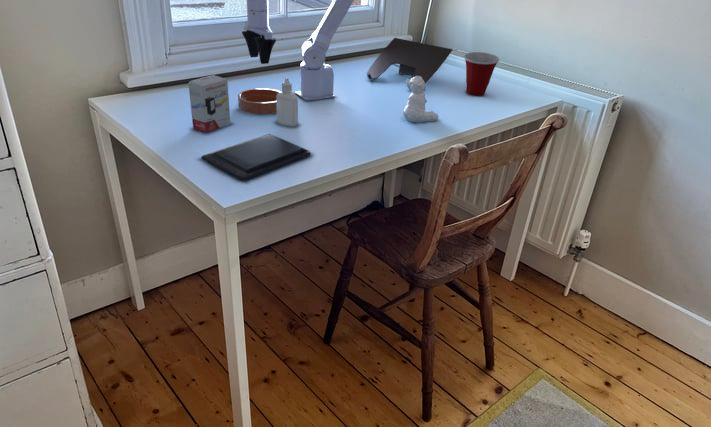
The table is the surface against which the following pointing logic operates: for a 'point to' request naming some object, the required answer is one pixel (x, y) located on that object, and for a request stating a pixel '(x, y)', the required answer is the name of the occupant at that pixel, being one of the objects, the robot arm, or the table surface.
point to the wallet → (256, 156)
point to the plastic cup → (479, 71)
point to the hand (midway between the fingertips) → (259, 60)
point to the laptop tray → (410, 59)
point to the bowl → (258, 101)
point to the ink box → (209, 103)
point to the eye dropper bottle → (287, 105)
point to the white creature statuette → (417, 102)
